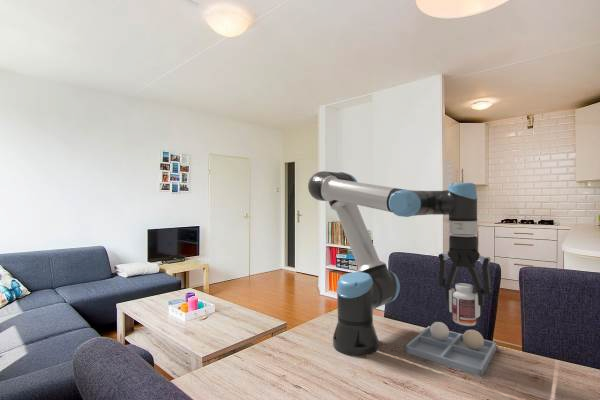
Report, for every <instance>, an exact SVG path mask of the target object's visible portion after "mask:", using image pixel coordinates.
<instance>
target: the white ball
mask: <svg viewBox="0 0 600 400" xmlns="http://www.w3.org/2000/svg"><path fill="white" fill-rule="evenodd" d="M449 331H450V329H449V327H448V326H447V325H446V324H445V323H444V322H441V321H435V322H433V323H432V324H431V327H430V333H431V335H432V337H433V338H434V339H436V340H438V341H444V340H446V339H447V338H448V336H449Z"/></svg>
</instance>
